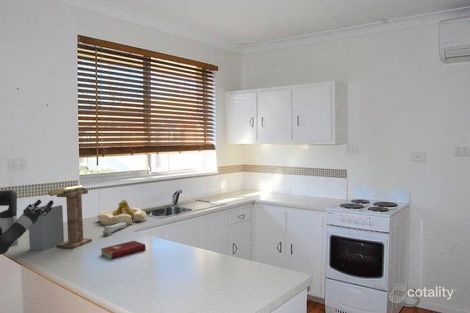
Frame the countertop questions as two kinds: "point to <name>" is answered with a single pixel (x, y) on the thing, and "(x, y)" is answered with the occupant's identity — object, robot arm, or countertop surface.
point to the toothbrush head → (113, 228)
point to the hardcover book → (123, 249)
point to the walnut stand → (74, 219)
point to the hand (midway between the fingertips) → (46, 201)
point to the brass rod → (64, 190)
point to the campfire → (122, 215)
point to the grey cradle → (47, 230)
